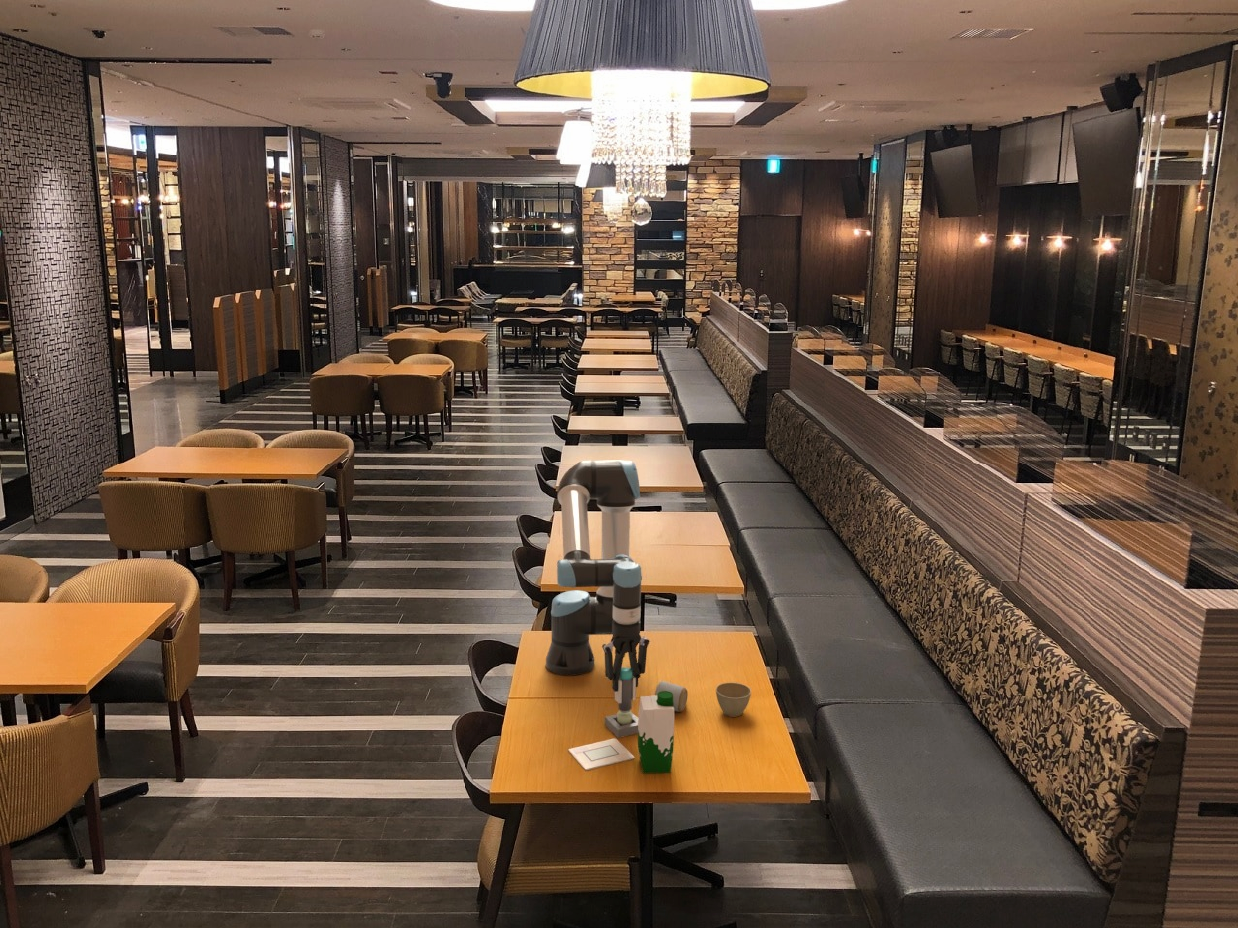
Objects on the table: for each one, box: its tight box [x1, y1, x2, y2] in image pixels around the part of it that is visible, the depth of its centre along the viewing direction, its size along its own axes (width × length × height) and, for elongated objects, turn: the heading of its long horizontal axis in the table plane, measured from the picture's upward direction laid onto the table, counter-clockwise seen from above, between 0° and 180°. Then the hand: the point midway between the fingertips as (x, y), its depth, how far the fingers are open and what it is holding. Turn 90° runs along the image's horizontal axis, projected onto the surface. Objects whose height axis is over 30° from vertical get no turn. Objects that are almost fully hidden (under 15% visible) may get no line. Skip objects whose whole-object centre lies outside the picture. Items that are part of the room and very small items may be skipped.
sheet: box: [567, 737, 635, 771], centre depth 274 cm, size 11×14×1 cm
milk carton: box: [637, 691, 675, 774], centre depth 266 cm, size 9×9×20 cm
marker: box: [617, 666, 633, 713], centre depth 285 cm, size 4×4×12 cm
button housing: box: [604, 712, 638, 739], centre depth 287 cm, size 8×8×2 cm
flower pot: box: [715, 682, 752, 718], centre depth 297 cm, size 10×10×7 cm
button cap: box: [616, 710, 633, 726], centre depth 287 cm, size 4×4×3 cm
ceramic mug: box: [654, 680, 689, 713], centre depth 300 cm, size 11×8×8 cm
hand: (624, 699), depth 285 cm, fingers closed on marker, 3 cm apart
